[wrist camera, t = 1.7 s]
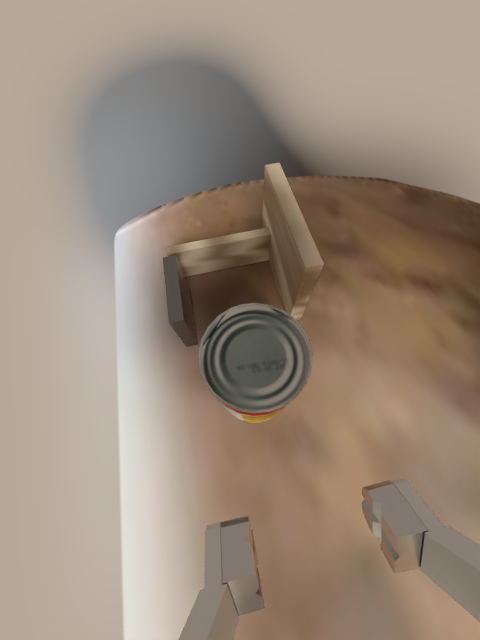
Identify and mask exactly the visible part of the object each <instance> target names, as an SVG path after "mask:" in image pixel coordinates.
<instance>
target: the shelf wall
mask: <svg viewBox="0 0 480 640" xmlns="http://www.w3.org/2000/svg"><path fill="white" fill-rule="evenodd" d="M166 250H167V256H168V257H170V256H175V255H176V257H177V260H178V262H179V265H180V267H181V269H182V272H183V274H184V276H185V277H187V276H192V275H197V274H202V273H207V272H212V271H217V270H222V269H227V268H233V267H238V266H243V265H248V264H253V263H258V262H263V261H268V260H269V263H270V266H271V269H272V272H273V275H274V278H275V281H276V284H277V288H278V291H279V294H280V297H281V300H282V303H283V306H284V309H285V312H287V313H288V314H290V315H291V316H293V317H294V318H295V319H296V320H301V318H302V316H303V314H304V311H305V309H306V306H307V304H308V302H309V299H310V297H311V294H312V292H313V290H314V287H315V285H316V282H317V280H318V278H319V275H320V273H321V270H322V268H323V266H324V263H323V261H322V258H321V256H320V254H319V252H318V249H317V247H316V245H315V243H314V240H313V238H312V236H311V233H310V231H309V229H308V227H307V224H306V222H305V220H304V218H303V215H302V213H301V211H300V208H299V206H298V204H297V202H296V199H295V197H294V195H293V193H292V190H291V188H290V186H289V183H288V181H287V179H286V177H285V174H284V172H283V170H282V168H281V165H280V163H274V164H269V165H265V175H264V196H263V217H262V229H257V230H252V231H246V232H241V233H236V234H231V235H226V236H220V237H215V238H210V239H205V240H199V241H194V242H189V243H184V244H178V245H173V246H168V247H166Z"/></svg>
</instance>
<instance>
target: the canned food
mask: <svg viewBox="0 0 480 640" xmlns="http://www.w3.org/2000/svg"><path fill="white" fill-rule="evenodd" d="M198 353H199V368H200V371H201V375H202V378H203V381H204V382H205V384H206V385H207V387H208V388H209V390H210V391H211V393H212V394H213V395H214V396H215V397H216V398H217V400H218V401H219V402H220V403H221V404H222V405H223V406H224V407H225V408H226V409H227V411H229V412H230V413H231V414H232V415H233V416H234V417H236V418H238V419H240V420H242V421H245V422H250V423H258V422H264V421H267V420H269V419H271V418H273V417H274V416H276V415H277V414H278V413H279V412H280V411H282V410H283V409H284V408H285V407H286V406H287V405H288V404H289V403H290V402H291V401H293V400H294V399H295V398H296V397H297V396H298V395H299V394H300V392H301V391H302V389H303V388H304V386H305V385H306V384H307V381H308V378H309V376H310V373H311V370H312V355H313V354H312V349H311V345H310V340H309V338H308V336H307V334H306V333H305V331H304V329H303V327H302V326H301V325H300V324H299V323H298V322H297V320H296V319H295V318H294V317H293V316H291V315H290V314H288V313H287V312H285V311H284V310H282V309H280V308H277V307H274V306H272V305H269V304H262V303H248V304H241V305H238V306H235V307H232V308H229V309H228V310H226V311H225V312H223V313H222V314H220V315H218V316H217V317H216V318H215V319H214V320H213V322H212V323H211V324H210V325H209V326H208V328H207V329H206V331H205V333H204V335H203V337H202V339H201V343H200V347H199V351H198Z"/></svg>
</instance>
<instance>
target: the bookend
mask: <svg viewBox="0 0 480 640" xmlns="http://www.w3.org/2000/svg"><path fill="white" fill-rule="evenodd" d="M163 263H164V274H165V284H166V294H167V305H168V315H169V323H170V325H171V326H172V327H173V329H174V330H175V331H176V333H177V334H178V336H179V337H180V338H181V340H182V341H183V343H184V344H185V345H186V347H187V346H192V345H197V344H198V342H197V335H196V328H195V321H194V314H193V307H192V300H191V293H190V288H189V286H188V284H187V281H186V279H185V276H184V274H183V272H182V269H181V267H180V265H179V262H178V260H177V257H176V255H175V256H170V257H165V258H163Z"/></svg>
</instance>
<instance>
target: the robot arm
mask: <svg viewBox="0 0 480 640" xmlns="http://www.w3.org/2000/svg"><path fill="white" fill-rule="evenodd" d="M362 495H363V497H364V498H365V499H364V500H363V502H362V509H363V513H364V516H365V519H366V521H367V524H368V526H369V528H370V529H371V531H372V533H373V534H374V535H375V536H377V537H378V538H379V539H380V540H381V550H382V552H383V553H384V555H385V557H386V559H387V561H388V563H389V564H390V566H391V568H392V570H393V572H394V573H400V572H404V571H409V570H413V569H417V568H420V570H421V571H422V572H423V573H425V574H426V575H427V576H428V577H429V578H430V579H431V580H433V581H434V582H435V583H436V584H437V585H438V586H439V587H441V588H442V589H443V590H444V591H445V592H446V593H447V594H448V595H450V596H451V597H452V598H453V599H454V600H455V601H456V602H458V603H459V604H460V605H461V606H462V607H463V608H464V609H466V610H467V611H468V612H469V613H470V614H471V615H472V616H473V617H475V618H476V619H477V620H478V621H479V622H480V545H479V544H477V543H476V542H474V541H472V540H471V539H469V538H468V537H466V536H464V535H463V534H461V533H460V532H458V531H456V530H455V529H453V528H452V527H450V526H447V527H445V526H444V525H443V524H442V523H441V521H440V520H439V519H438V518H437V516H436V515H435V514H434V513H433V511H432V510H431V509H430V508H429V507H428V505H427V504H426V503H425V502H424V500H423V499H422V498H421V497H420V495H419V494H418V493H417V492H416V490H415V489H414V488H413V487H412V486H411V484H410V483H409V482H408V481H407V480H406V479H405V478H397V479H393V480H389V481H385V482H381V483H377V484H373V485H370V486H366V487H363V488H362ZM257 565H258V559H257V553H256V547H255V541H254V536H253V531H252V529H251V524H250V519H249V516H245V517H241V518H237V519H232V520H228V521H224V522H219V523H215V524H211V525H207V526H206V532H205V589H203V590H200V592H199V594H198V596H197V599H196V601H195V603H194V605H193V608H192V610H191V612H190V615H189V617H188V619H187V622H186V624H185V626H184V628H183V631H182V633H181V635H180V638H179V640H233V639H234V635H235V631H236V628H237V624H238V620H239V617H238V616H240V615H243V614H247V613H250V612H253V611H257V610H260V609H263V608H265V607H264V600H263V593H262V586H261V580H260V576H259V571H258V568H257Z"/></svg>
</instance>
